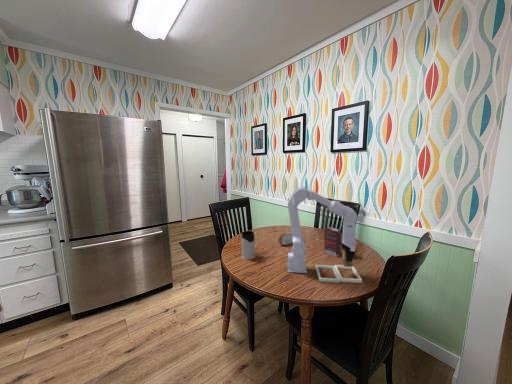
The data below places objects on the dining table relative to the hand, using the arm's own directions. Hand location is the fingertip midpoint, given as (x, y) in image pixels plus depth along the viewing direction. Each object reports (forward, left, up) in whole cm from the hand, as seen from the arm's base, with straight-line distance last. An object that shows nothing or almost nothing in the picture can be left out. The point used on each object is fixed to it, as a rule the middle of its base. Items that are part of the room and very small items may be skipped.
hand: (347, 259), depth 104 cm
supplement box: (-2, +25, -8) cm, 26 cm away
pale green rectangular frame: (-10, -1, -8) cm, 13 cm away
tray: (0, 0, -8) cm, 8 cm away
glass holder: (-52, +18, -8) cm, 56 cm away
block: (0, 0, -3) cm, 3 cm away
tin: (-29, +38, -9) cm, 49 cm away
